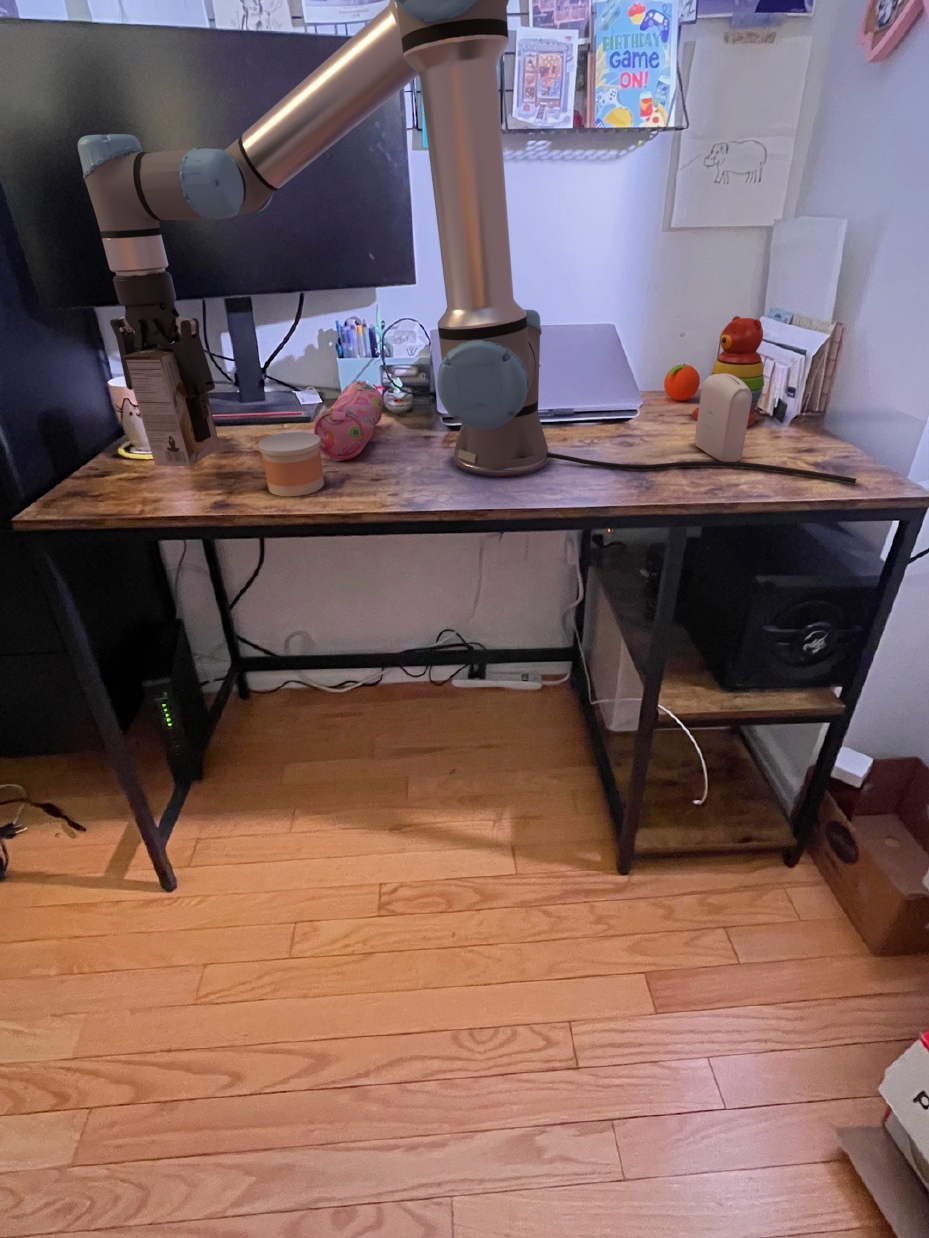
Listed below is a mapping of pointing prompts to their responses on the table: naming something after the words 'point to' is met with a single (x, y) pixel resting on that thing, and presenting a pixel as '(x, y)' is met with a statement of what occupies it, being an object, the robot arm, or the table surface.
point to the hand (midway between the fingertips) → (183, 437)
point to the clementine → (682, 382)
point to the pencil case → (349, 421)
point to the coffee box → (166, 409)
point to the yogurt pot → (292, 463)
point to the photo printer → (723, 417)
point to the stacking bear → (742, 357)
